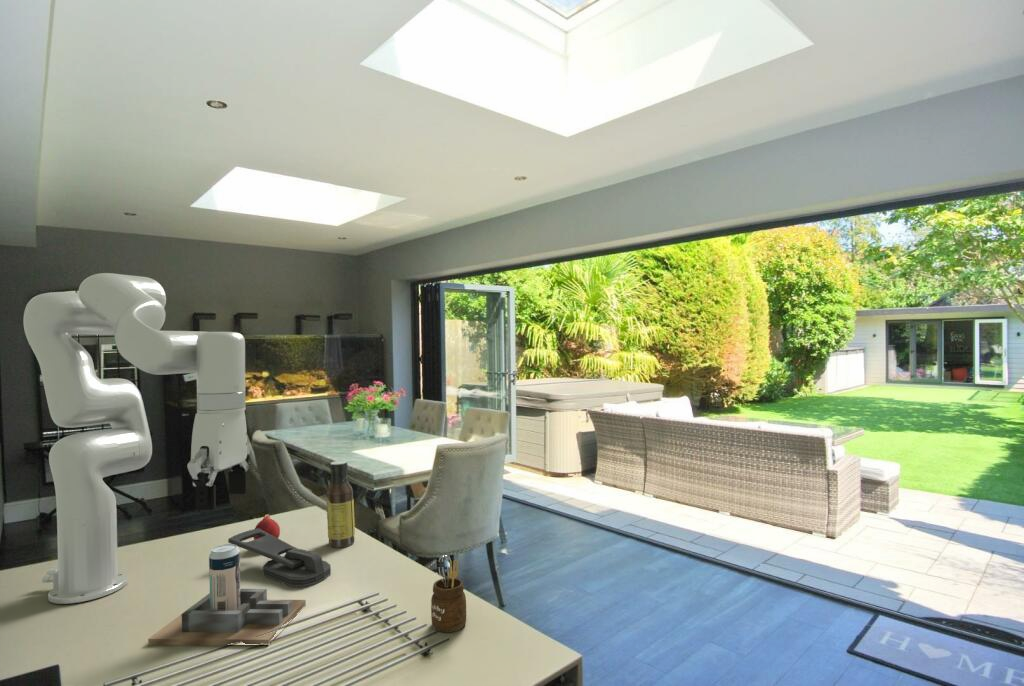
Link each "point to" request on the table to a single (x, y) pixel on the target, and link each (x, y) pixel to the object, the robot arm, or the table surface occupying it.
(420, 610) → the table surface
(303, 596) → the table surface
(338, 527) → the sauce bottle
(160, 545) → the table surface
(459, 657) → the table surface
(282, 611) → the keyhole board
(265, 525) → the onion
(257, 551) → the zipper pull
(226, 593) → the beer can
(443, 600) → the utensil holder
